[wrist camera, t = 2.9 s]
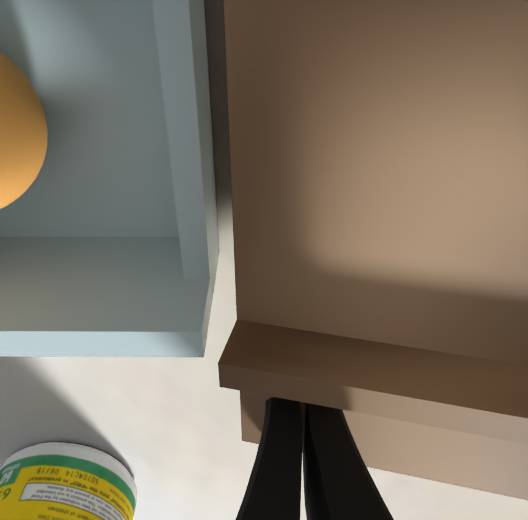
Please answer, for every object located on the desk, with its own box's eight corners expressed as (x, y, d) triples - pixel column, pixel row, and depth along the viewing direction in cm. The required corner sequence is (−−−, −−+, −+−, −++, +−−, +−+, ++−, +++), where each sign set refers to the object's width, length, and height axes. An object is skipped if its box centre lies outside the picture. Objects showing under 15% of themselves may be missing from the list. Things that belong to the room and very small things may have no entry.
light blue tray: (195, -144, 9) (152, -183, 6) (219, 251, 14) (203, 357, 10) (-218, -143, 9) (-506, -182, 6) (-51, 250, 14) (-153, 355, 10)
